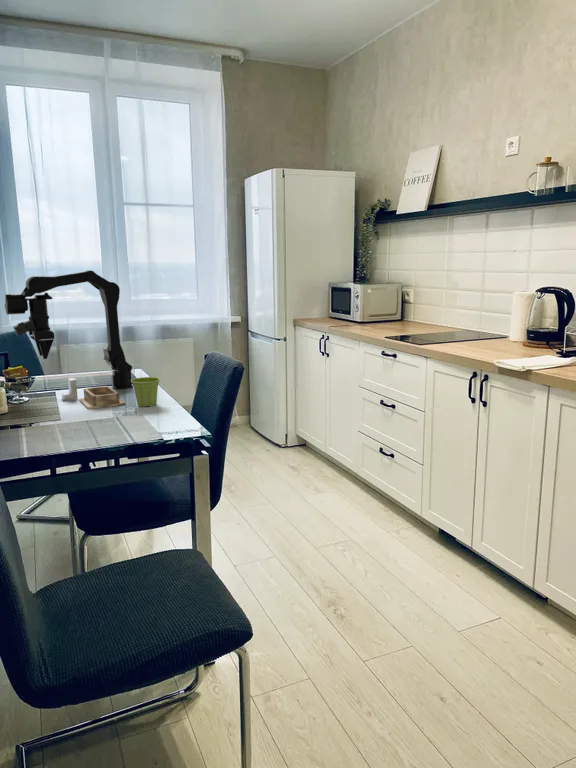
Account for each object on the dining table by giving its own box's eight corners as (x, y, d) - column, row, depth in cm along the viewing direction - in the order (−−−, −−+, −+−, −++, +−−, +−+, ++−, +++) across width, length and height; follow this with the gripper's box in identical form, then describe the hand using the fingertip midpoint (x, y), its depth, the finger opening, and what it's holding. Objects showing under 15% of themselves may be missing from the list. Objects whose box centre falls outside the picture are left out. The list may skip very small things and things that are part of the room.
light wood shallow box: (113, 396, 209) (113, 385, 208) (125, 404, 196) (124, 392, 196) (78, 400, 203) (78, 389, 202) (88, 409, 190) (87, 397, 190)
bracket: (75, 397, 208) (73, 377, 207) (77, 399, 205) (76, 379, 203) (62, 398, 206) (60, 379, 205) (64, 400, 203) (62, 381, 201)
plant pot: (126, 406, 194) (124, 380, 192) (145, 400, 202) (144, 375, 200) (148, 409, 189) (146, 383, 188) (167, 403, 197) (165, 378, 196)
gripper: (10, 312, 208) (15, 355, 212) (16, 316, 192) (21, 363, 196) (44, 310, 214) (48, 353, 217) (52, 314, 198) (56, 359, 201)
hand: (43, 357), depth 207 cm, fingers open, 9 cm apart
